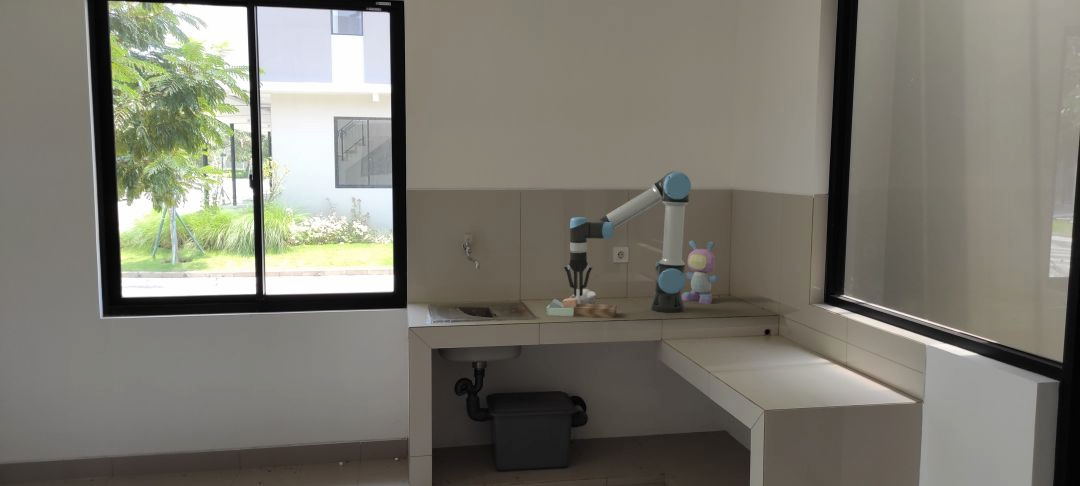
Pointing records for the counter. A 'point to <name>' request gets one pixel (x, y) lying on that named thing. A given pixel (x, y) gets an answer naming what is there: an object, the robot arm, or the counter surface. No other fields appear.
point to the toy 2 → (700, 274)
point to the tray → (560, 311)
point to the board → (595, 310)
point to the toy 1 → (587, 297)
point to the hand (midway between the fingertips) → (578, 302)
